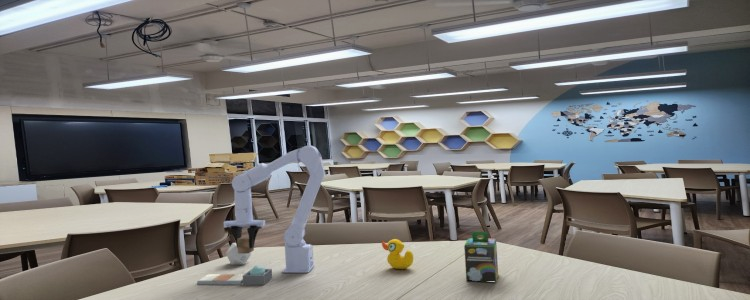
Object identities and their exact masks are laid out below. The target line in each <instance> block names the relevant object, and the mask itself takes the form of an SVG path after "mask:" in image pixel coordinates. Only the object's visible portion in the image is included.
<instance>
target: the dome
mask: <svg viewBox="0 0 750 300" xmlns="http://www.w3.org/2000/svg"><path fill="white" fill-rule="evenodd" d="M265 269H266V268H265V267H262V266H261V265H255V266H253V267H252V269H249V271H250V275H263V274H264V273H265Z"/></svg>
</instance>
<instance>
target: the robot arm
mask: <svg viewBox="0 0 750 300" xmlns="http://www.w3.org/2000/svg"><path fill="white" fill-rule="evenodd" d="M300 162H301V164H303V165H304V166H305V167H306V170H307V171H308V174H309V178H308V181H307V183H306V185H305V188H304V191H303V194H302V196H301V199H300V201H299V203H298V206H297V209H296V212H295V213H294V217H293V219H292V221H291V223H290V226H289V227H288V228H287V229H286V231H285V232H284V234H283V240H284V252H285V253H284V254H285V255H284V256H285V258H284V259H285V268H284V269H283V270H281V272H282V273H286V274H287V273H296V274H297V273H302V274H303V273H309V272H310V271H311V270H312V269H313V268H314V267H315V263H314V249H313V247H314V246H313V245H312V244H310V243H309V244H307V243H306V241H305V239H304V237H305V235H306V225H307V221H308V219H309V216H310V213H311V211H312V208H313V205H314V203H315V201H316V198H317V196H318V195H317V194H318V192H319V190H320V187H321V185H322V182H323V179H324V177H325V174H326V172H325V168H324V164H323V163H324V161H323V157H322V154H321V152H320V151H319V149H318V148H317V147H315V146H314V145H305V146H302V147H300V148H297V149H294V150H292V151H288V152H287V153H284V154H283V155H281V156H280V157H278V158H276V159H275V160H273V161H271V162H270V163H268V164H267V163H264V162H261V163H259V162H258V163H256V164H255V166H254V167H252V168H250V169H248V170H246V169H245V170H243V171H242V174H241V173H240V174H237V175H236V176H235V177H233V179H232V181H231V187H232V189H233V190H234V195H233V196H234V211H235V214H234V215H235V219H234V220H225V221H223V228H225V229H226V228H229V232H230V234H231V235H232V237H233V239H234V243H236V245H237V248H238V244H237V239H239V238H240V237H242V234H243V233H242V231H243V228H244V227H247V228H246V231H247V234H248V235H247V236H249V245H250V248H252V247H254V248H255V241H256V238H257V235H258V232H259V230H260V227H261V228H264V227H265V226H266V220H265V219H263V220H262V219H254V217H253V216H254V215H253V201H252V187H254V186H256V185H258V184H260V183H262V182H264V181H266V180H268V179H270V178H271V176H272V173H273V172H274V171H277V170H279V169H281V168H283V167H285V166H288V165H289V164H291V163H297V164H298V163H300Z"/></svg>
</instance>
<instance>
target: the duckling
mask: <svg viewBox="0 0 750 300" xmlns="http://www.w3.org/2000/svg"><path fill="white" fill-rule="evenodd" d="M381 246H382V248H383V249H384V250H385V251H388V252H389V254H388V255H387V259H386V260H387V263H388V264H389V266H390V267H392V268H394V270H395V269H396V270H406V269H408V268H410V267H411V266H412V265H413V262H414V254H413V252H412V251H411V250H406V251H405V252H404V256H402V255H401V253H402V252H403V250H404V248H405V244H404V243H403V242H402V241H401V240H400V239H397V238H393V239H391V240H389V241H388V242H387V243H386V242H385V241H382V242H381Z"/></svg>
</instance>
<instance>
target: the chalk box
mask: <svg viewBox="0 0 750 300" xmlns="http://www.w3.org/2000/svg"><path fill="white" fill-rule="evenodd" d="M471 233H472V234H471V235H472V237H470V238H468V239H466V241H465V243H464V246H463V247H464V263H465V279H466V280H472V281H471V282H477V281H496V280H498V277H497V276H499V267H498V266H499V265H498V249H497V239H496V238H494V237H493V238H492V237H489V233H488V231H478V230H477V231H474V230H473V231H472V232H471ZM478 236H483V237H481V238H480V237H478ZM496 282H497V281H496Z"/></svg>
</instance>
